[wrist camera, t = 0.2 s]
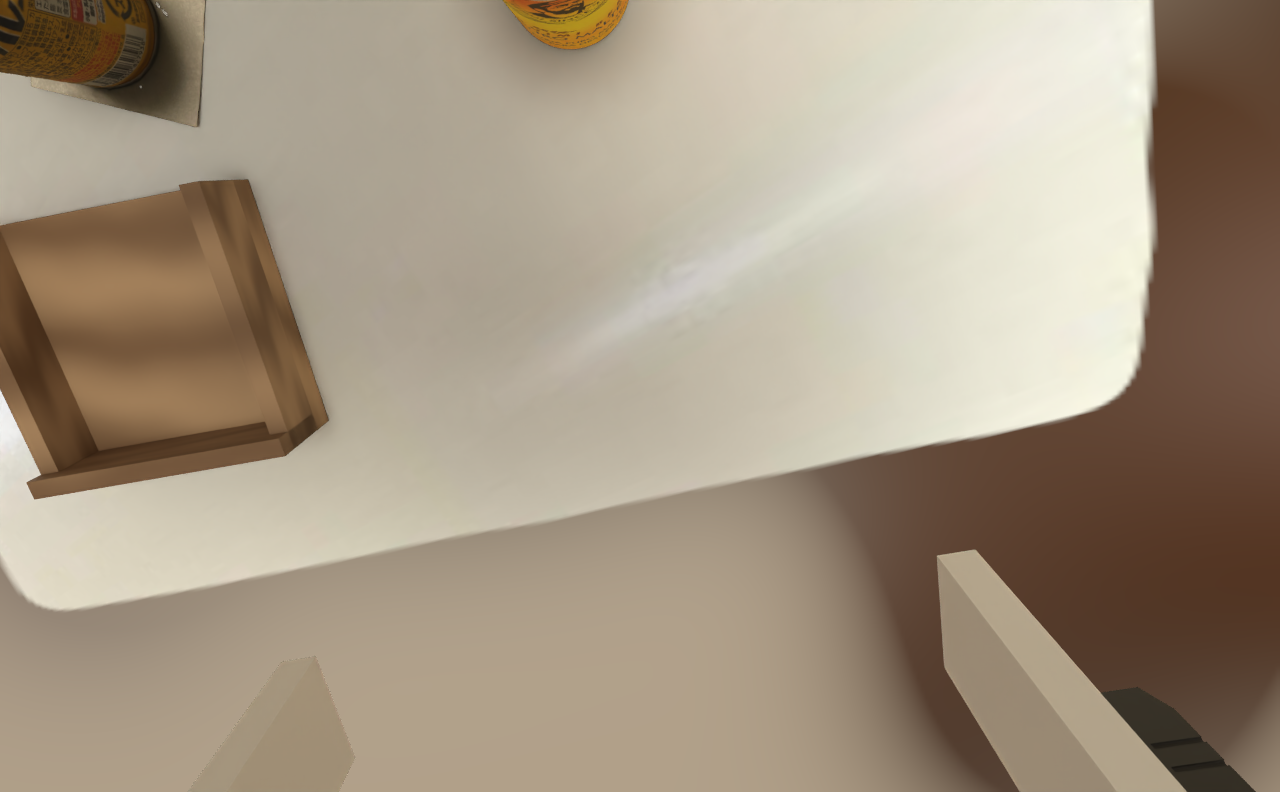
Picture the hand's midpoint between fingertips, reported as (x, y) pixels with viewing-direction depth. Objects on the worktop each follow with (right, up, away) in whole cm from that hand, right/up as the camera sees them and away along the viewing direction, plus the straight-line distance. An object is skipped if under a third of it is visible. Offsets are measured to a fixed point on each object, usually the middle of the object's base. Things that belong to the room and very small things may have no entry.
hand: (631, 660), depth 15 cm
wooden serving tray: (-27, +9, +26) cm, 38 cm away
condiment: (-26, +24, +21) cm, 42 cm away
